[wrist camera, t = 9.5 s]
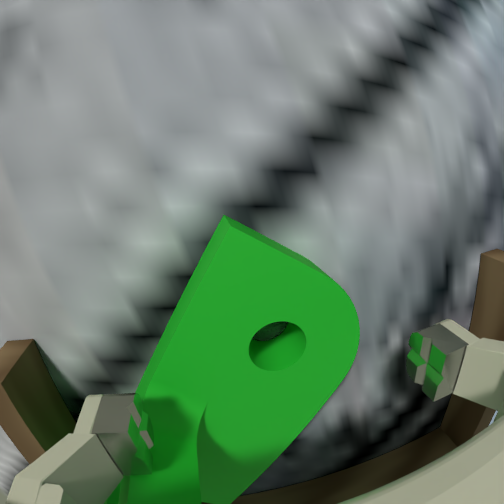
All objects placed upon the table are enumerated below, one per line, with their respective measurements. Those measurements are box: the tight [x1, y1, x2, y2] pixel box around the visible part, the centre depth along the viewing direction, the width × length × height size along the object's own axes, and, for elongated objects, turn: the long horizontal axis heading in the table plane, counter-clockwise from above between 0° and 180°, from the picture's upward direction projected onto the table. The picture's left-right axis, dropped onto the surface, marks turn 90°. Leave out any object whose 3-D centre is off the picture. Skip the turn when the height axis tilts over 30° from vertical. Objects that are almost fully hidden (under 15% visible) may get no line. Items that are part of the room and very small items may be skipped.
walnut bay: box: [0, 249, 504, 504], centre depth 12 cm, size 23×14×3 cm, turn 97°
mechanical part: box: [104, 215, 360, 504], centre depth 8 cm, size 12×6×8 cm, turn 151°
